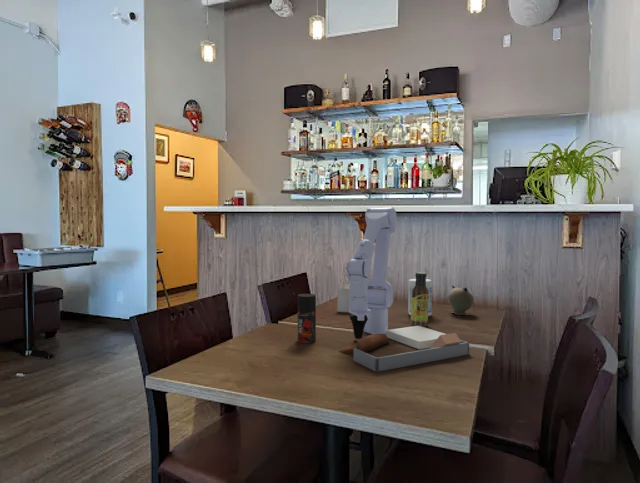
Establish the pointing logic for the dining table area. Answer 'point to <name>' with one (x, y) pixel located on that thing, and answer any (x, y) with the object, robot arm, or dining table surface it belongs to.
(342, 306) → the white rectangular container
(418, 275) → the sauce bottle
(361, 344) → the sunglasses case
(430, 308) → the supplement tub
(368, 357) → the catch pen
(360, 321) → the robot arm
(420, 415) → the dining table surface
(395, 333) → the slab
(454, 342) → the block
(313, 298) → the deodorant
